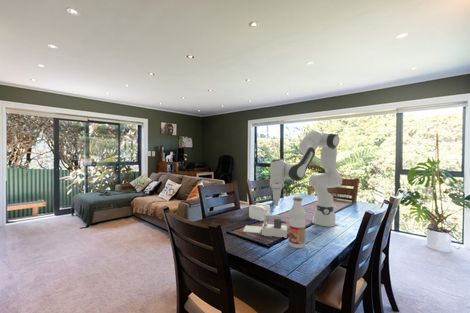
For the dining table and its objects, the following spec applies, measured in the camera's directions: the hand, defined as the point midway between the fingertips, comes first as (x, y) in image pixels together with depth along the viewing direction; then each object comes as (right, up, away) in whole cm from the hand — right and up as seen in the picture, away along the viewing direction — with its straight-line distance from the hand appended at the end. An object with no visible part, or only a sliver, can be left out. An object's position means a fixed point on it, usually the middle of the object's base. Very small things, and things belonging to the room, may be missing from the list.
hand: (276, 205), depth 144 cm
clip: (-2, -15, +5) cm, 16 cm away
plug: (+3, -18, +4) cm, 19 cm away
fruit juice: (+10, -21, -12) cm, 26 cm away
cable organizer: (-7, -20, +38) cm, 43 cm away
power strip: (0, -20, +5) cm, 21 cm away
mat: (-14, -20, +12) cm, 27 cm away
